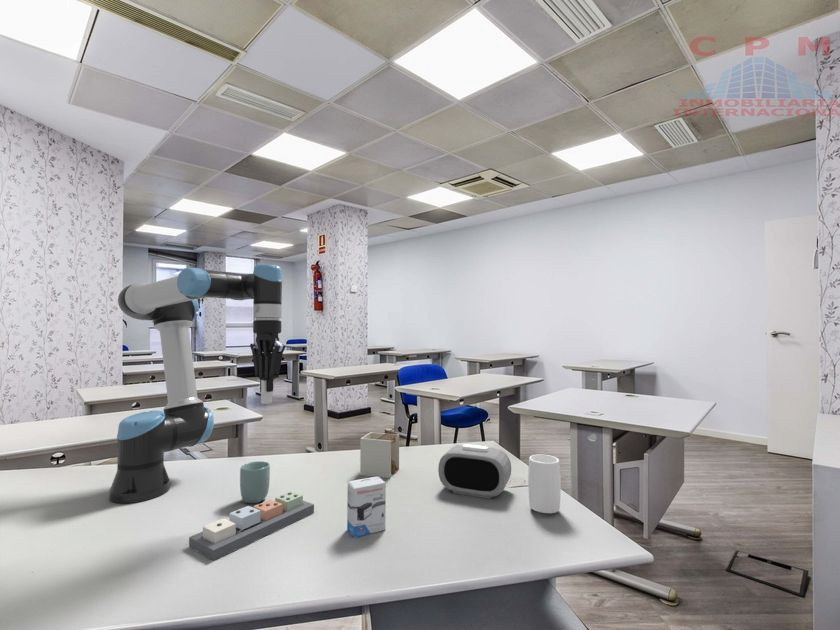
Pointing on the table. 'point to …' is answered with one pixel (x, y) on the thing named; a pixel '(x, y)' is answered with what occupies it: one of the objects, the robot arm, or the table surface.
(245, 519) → the tile
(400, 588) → the table surface
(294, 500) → the tile
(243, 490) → the cup
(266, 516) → the tile
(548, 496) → the cup
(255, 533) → the board
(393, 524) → the table surface
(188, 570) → the table surface
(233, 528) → the tile
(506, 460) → the alarm clock
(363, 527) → the ink box
